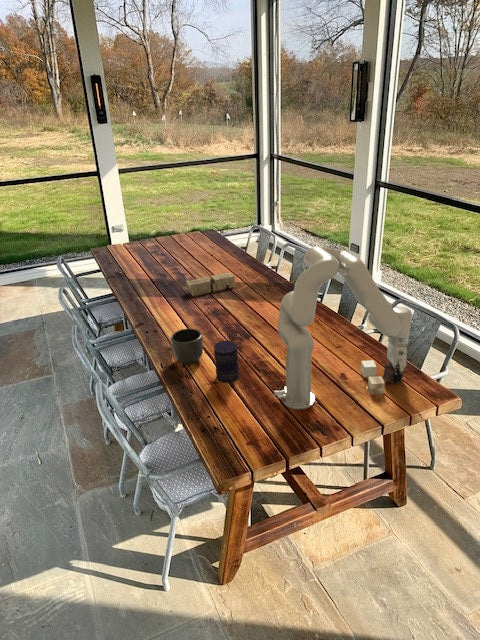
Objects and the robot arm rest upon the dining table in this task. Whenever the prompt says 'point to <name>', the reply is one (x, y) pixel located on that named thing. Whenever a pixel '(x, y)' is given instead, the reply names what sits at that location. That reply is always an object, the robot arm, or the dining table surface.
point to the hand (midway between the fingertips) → (393, 375)
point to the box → (389, 372)
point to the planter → (187, 345)
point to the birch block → (376, 385)
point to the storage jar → (226, 361)
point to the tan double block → (211, 284)
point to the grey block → (368, 368)
